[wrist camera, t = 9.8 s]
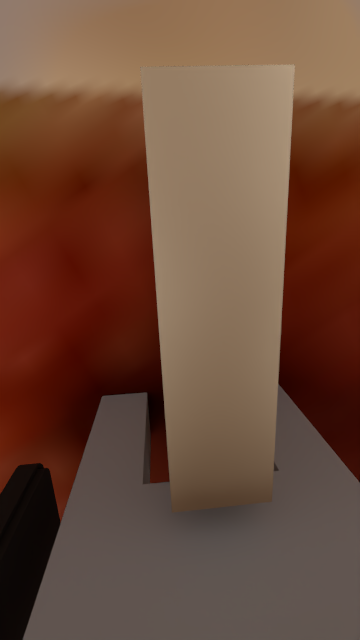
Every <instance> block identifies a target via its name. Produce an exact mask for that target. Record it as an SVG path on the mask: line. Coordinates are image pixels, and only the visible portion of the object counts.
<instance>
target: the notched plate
mask: <svg viewBox="0 0 360 640" xmlns="http://www.w3.org/2000/svg"><path fill="white" fill-rule="evenodd" d="M150 453H151V431H150V419H149V408H148V396H147V392H145V393H133V394H121V395H109V396H102V399H101V402H100V405H99V408H98V411H97V414H96V417H95V420H94V423H93V426H92V429H91V432H90V435H89V438H88V441H87V444H86V448H85V451H84V454H83V457H82V460H81V463H80V466H79V469H78V472H77V475H76V478H75V481H74V484H73V487H72V490H71V493H70V497H69V500H68V503H67V506H66V509H65V512H64V515H63V518H62V521H61V524H60V527H59V530H58V533H57V536H56V539H55V542H54V546H53V549H52V552H51V555H50V558H49V561H48V564H47V567H46V570H45V573H44V576H43V579H42V582H41V585H40V588H39V591H38V595H37V598H36V601H35V604H34V607H33V610H32V613H31V616H30V619H29V622H28V625H27V628H26V631H25V634H24V637H23V640H360V482H359V481H358V480H357V479H356V478H355V476H354V475H353V474H352V473H351V471H350V470H349V469H348V468H347V467H346V465H345V464H344V463H343V462H342V461H341V459H340V458H339V457H338V456H337V454H336V453H335V452H334V451H333V450H332V448H331V447H330V446H329V445H328V444H327V442H326V441H325V440H324V439H323V437H322V436H321V435H320V434H319V433H318V431H317V430H316V429H315V428H314V427H313V425H312V424H311V423H310V422H309V420H308V419H307V418H306V417H305V416H304V414H303V413H302V412H301V411H300V410H299V408H298V407H297V406H296V405H295V403H294V402H293V401H292V400H291V399H290V397H289V396H288V395H287V394H286V393H285V391H284V390H283V389H282V388H281V386H280V385H279V384H278V395H277V414H276V434H275V453H274V472H273V491H272V502H265V503H256V504H246V505H237V506H228V507H219V508H210V509H201V510H192V511H183V512H174V513H172V506H171V492H170V482H162V483H152V484H150Z"/></svg>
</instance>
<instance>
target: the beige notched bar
mask: <svg viewBox="0 0 360 640" xmlns="http://www.w3.org/2000/svg"><path fill="white" fill-rule="evenodd" d="M140 70H141V85H142V99H143V113H144V127H145V141H146V155H147V169H148V183H149V197H150V211H151V225H152V239H153V253H154V267H155V281H156V295H157V310H158V324H159V338H160V352H161V366H162V380H163V394H164V408H165V422H166V436H167V450H168V464H169V478H170V492H171V506H172V513H174V512H183V511H192V510H201V509H210V508H219V507H228V506H237V505H246V504H256V503H265V502H272V491H273V472H274V453H275V434H276V414H277V395H278V376H279V357H280V338H281V319H282V300H283V281H284V262H285V243H286V224H287V205H288V185H289V166H290V147H291V128H292V109H293V90H294V70H295V65H235V66H166V67H164V66H159V67H140Z"/></svg>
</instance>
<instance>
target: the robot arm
mask: <svg viewBox="0 0 360 640" xmlns="http://www.w3.org/2000/svg"><path fill="white" fill-rule="evenodd" d="M359 482H360V480H359ZM60 524H61V523H60V518H59V514H58V509H57V504H56V499H55V494H54V489H53V484H52V480H51V475H50V471H49V469H48V468H44V467H43V465H42V464H41V463H37V464H26V465H20V466H18V467H17V468H16V470H15V471H14V473H13V475H12V476H11V478H10V479H9V481H8V483H7V484H6V486H5V488H4V489H3V491H2V493H1V494H0V640H23V637H24V634H25V631H26V628H27V625H28V622H29V619H30V616H31V613H32V610H33V607H34V604H35V601H36V598H37V595H38V591H39V588H40V585H41V582H42V579H43V576H44V573H45V570H46V567H47V564H48V561H49V558H50V555H51V552H52V549H53V546H54V542H55V539H56V536H57V533H58V530H59V527H60Z"/></svg>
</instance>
